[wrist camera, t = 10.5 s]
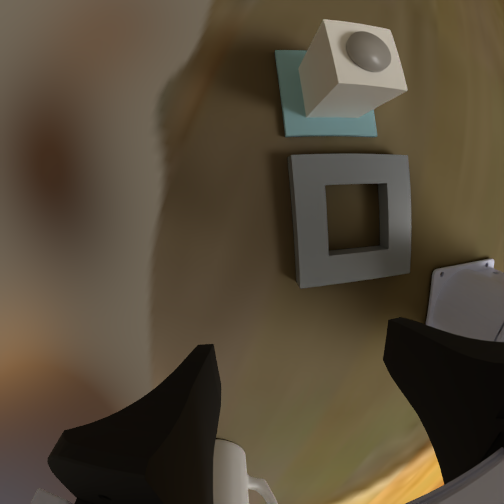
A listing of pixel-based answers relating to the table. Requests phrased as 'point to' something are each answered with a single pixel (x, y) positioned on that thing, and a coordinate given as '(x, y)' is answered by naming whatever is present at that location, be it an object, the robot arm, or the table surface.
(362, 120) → the mat
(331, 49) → the plug
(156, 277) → the table surface
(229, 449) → the mug
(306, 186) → the grey square frame
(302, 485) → the table surface
